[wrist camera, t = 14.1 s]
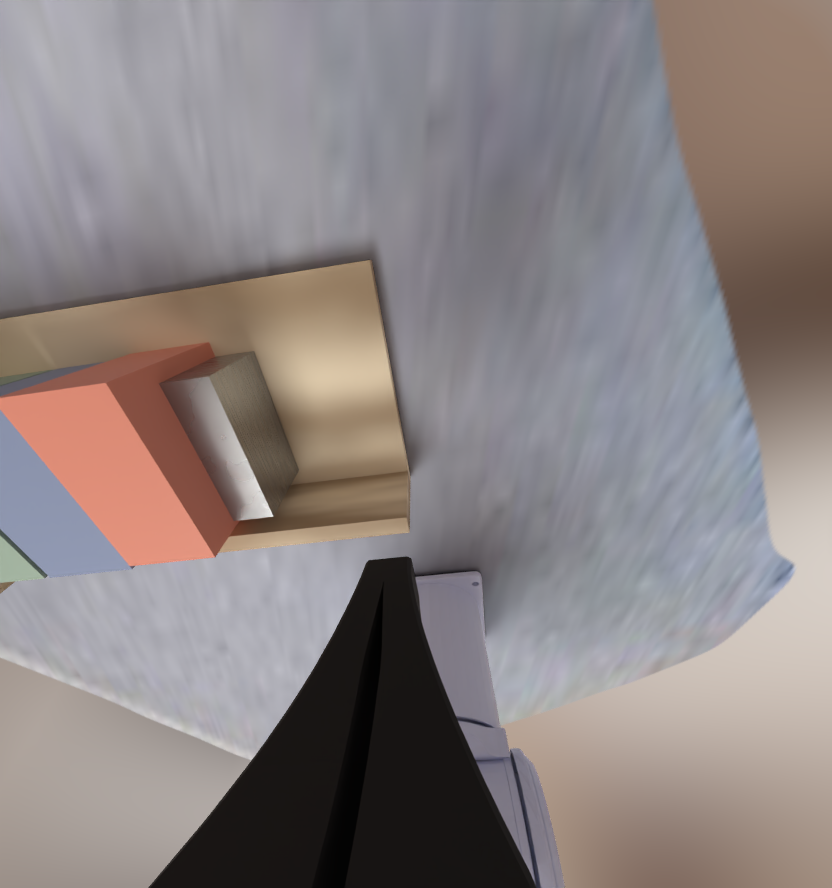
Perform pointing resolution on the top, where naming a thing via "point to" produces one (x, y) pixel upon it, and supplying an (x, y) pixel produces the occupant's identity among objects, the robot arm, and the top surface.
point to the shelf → (269, 385)
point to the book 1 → (47, 505)
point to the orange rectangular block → (127, 454)
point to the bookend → (235, 432)
